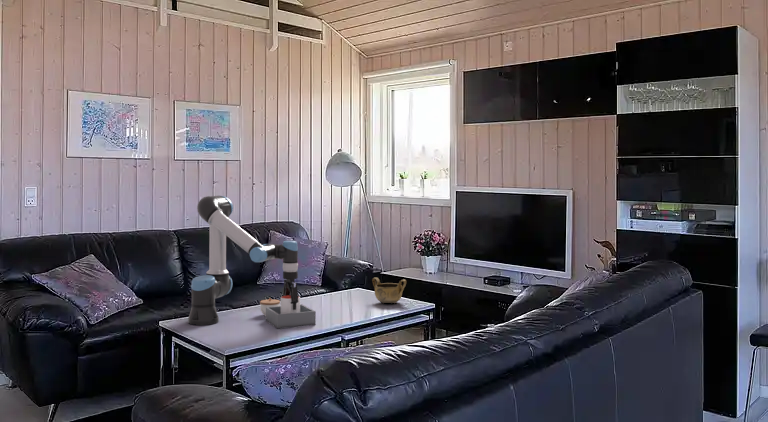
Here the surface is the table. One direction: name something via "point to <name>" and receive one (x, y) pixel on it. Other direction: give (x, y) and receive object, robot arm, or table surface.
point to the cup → (288, 304)
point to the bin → (290, 317)
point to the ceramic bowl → (388, 291)
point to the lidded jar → (268, 304)
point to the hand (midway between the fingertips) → (290, 313)
